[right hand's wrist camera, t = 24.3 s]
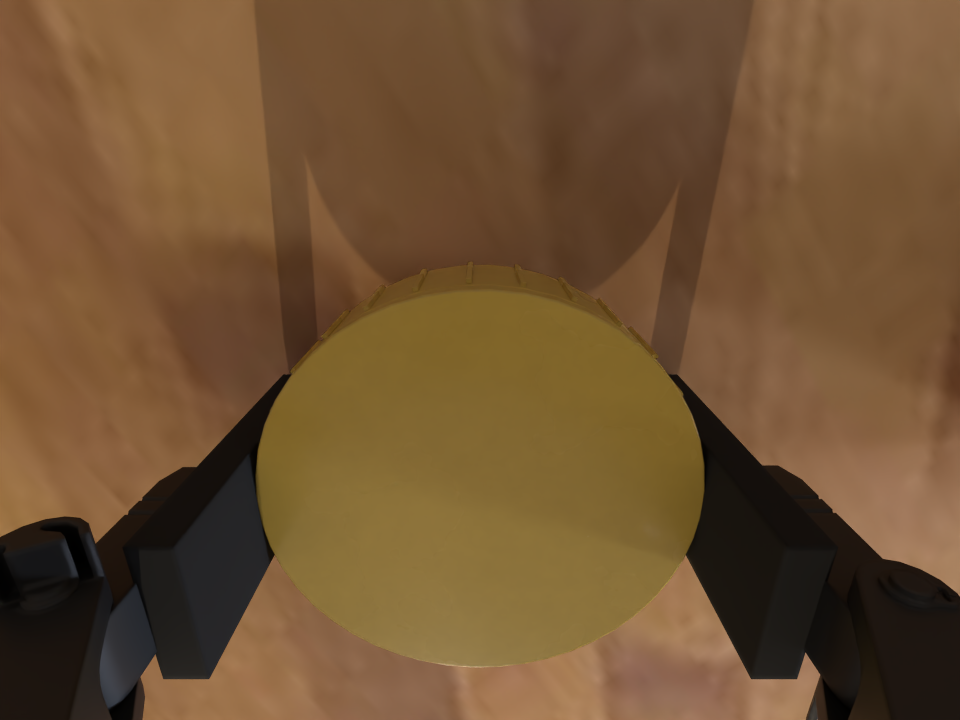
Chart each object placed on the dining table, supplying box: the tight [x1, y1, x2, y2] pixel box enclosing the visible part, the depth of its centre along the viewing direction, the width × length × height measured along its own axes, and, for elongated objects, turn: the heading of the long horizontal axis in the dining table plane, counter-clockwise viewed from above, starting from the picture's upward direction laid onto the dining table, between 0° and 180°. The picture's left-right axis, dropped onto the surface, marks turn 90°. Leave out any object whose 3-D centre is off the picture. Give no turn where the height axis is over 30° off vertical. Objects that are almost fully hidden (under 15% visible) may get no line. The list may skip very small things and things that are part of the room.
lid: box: [255, 262, 705, 667], centre depth 11 cm, size 9×9×2 cm
